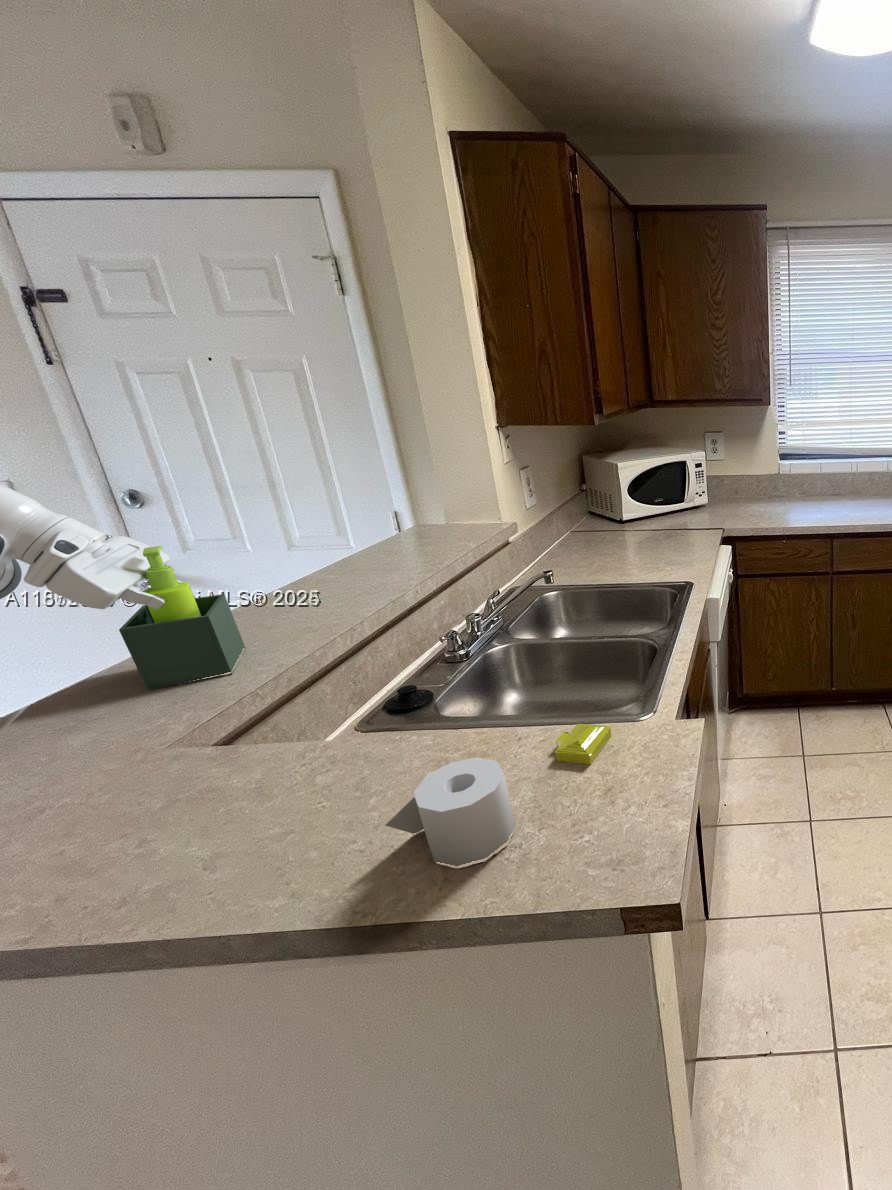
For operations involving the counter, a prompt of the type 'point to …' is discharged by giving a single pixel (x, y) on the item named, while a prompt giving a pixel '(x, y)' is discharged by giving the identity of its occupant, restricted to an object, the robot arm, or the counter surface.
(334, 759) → the counter surface
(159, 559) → the soap dispenser
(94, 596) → the robot arm
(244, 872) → the counter surface
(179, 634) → the trash bin
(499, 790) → the toilet tissue
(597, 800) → the counter surface
